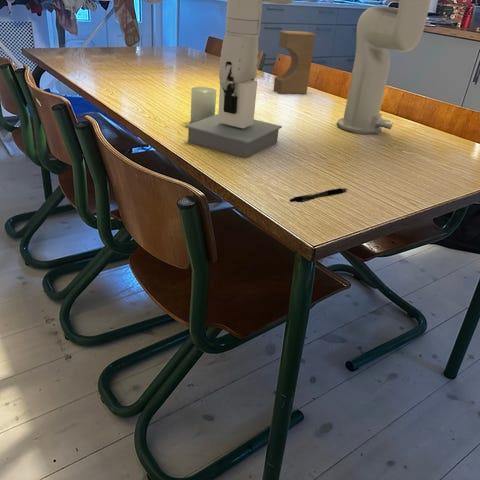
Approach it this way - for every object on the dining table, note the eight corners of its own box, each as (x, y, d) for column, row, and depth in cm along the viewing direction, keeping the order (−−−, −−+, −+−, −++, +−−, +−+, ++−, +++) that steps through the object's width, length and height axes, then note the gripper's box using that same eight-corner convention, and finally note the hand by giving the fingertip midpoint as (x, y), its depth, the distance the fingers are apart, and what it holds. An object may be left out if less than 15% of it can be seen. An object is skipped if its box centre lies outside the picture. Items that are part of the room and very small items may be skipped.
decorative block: (279, 94, 168) (286, 32, 158) (272, 90, 173) (279, 30, 163) (307, 94, 172) (316, 34, 162) (300, 90, 176) (308, 31, 167)
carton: (228, 117, 119) (231, 76, 114) (253, 123, 116) (257, 81, 111) (217, 122, 115) (220, 79, 110) (243, 128, 112) (246, 84, 107)
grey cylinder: (218, 124, 130) (220, 90, 126) (205, 129, 125) (207, 94, 121) (199, 119, 133) (200, 85, 128) (185, 123, 128) (186, 89, 123)
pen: (292, 206, 90) (294, 202, 89) (287, 200, 91) (289, 196, 90) (348, 195, 96) (350, 190, 96) (344, 190, 97) (346, 185, 96)
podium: (279, 141, 121) (281, 126, 119) (246, 159, 108) (248, 141, 106) (222, 127, 128) (223, 112, 126) (185, 141, 115) (185, 125, 113)
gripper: (247, 23, 113) (240, 101, 122) (207, 27, 100) (203, 113, 109) (275, 28, 110) (266, 107, 119) (238, 32, 97) (231, 120, 106)
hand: (236, 109), depth 114 cm, fingers open, 5 cm apart
